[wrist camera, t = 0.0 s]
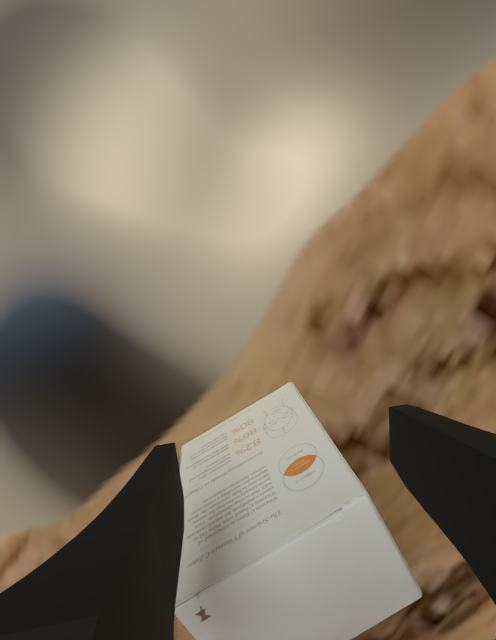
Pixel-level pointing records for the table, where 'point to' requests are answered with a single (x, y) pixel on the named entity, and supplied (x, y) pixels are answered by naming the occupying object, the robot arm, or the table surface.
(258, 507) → the small box
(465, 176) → the table surface
